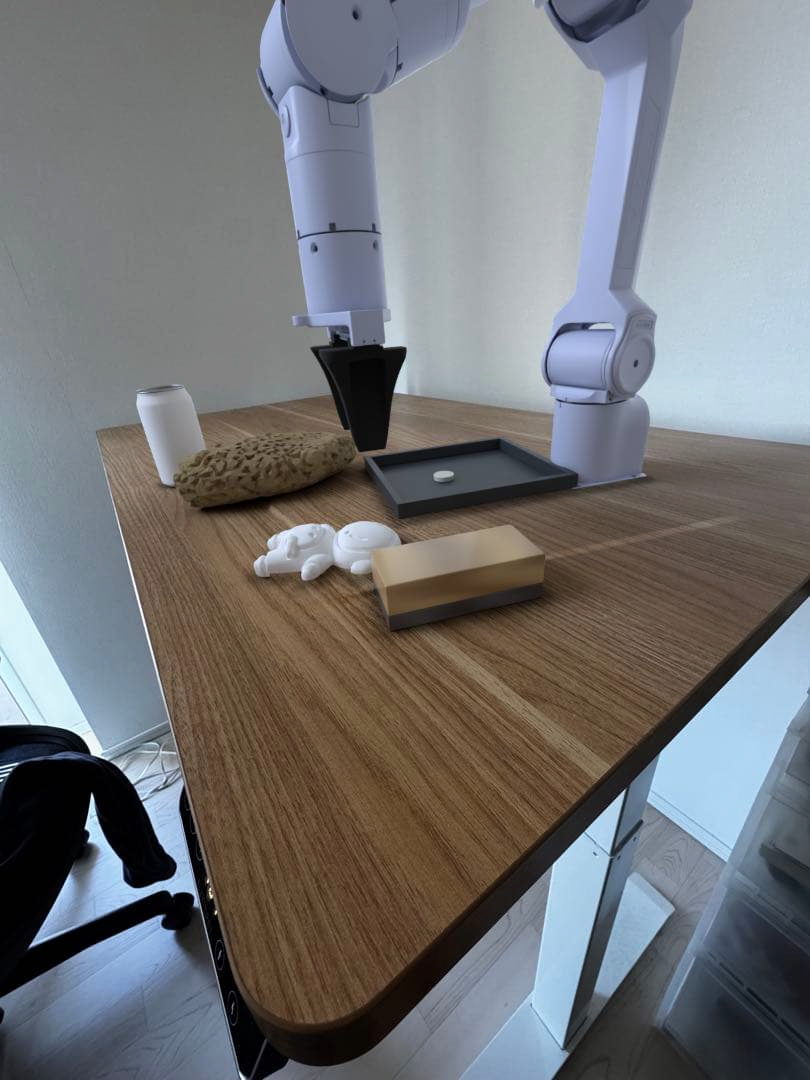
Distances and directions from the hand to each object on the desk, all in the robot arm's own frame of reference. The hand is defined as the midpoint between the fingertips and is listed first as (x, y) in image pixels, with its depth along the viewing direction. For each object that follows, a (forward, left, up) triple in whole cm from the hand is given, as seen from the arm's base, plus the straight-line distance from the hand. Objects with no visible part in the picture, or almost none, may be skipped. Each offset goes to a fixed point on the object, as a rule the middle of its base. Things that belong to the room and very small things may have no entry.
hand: (362, 438), depth 36 cm
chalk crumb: (-11, -11, -9) cm, 18 cm away
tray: (-13, -11, -9) cm, 19 cm away
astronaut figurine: (+4, +2, -10) cm, 11 cm away
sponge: (+8, -18, -10) cm, 22 cm away
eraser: (-4, +11, -9) cm, 15 cm away
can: (+20, -28, -10) cm, 36 cm away
